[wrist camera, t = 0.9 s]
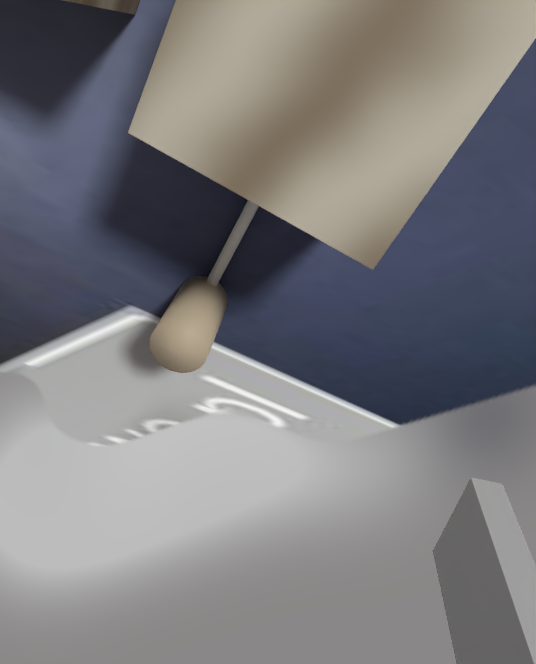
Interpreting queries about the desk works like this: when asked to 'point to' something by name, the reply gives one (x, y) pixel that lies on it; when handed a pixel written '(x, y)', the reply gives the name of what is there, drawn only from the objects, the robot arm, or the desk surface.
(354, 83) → the small wooden stool
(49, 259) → the desk surface
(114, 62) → the desk surface
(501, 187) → the desk surface
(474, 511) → the robot arm
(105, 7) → the open rectangular beige box
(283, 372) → the desk surface
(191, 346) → the tan maraca
